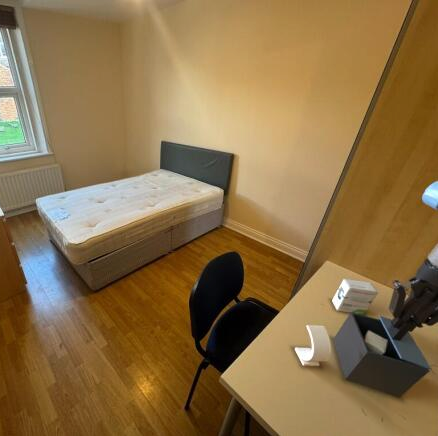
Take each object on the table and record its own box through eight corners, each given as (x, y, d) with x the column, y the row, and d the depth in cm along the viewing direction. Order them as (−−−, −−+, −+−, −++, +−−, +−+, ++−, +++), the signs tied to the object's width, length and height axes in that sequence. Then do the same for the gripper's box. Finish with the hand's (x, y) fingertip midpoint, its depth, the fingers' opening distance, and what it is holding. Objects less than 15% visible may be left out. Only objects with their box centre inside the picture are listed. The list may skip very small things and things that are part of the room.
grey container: (379, 352, 72) (402, 325, 65) (399, 398, 61) (430, 371, 55) (333, 339, 76) (350, 311, 69) (345, 379, 65) (367, 352, 59)
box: (352, 351, 72) (368, 329, 66) (370, 362, 69) (388, 339, 63) (347, 362, 69) (364, 340, 63) (366, 374, 66) (385, 352, 60)
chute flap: (402, 324, 65) (403, 323, 65) (430, 369, 55) (431, 368, 54) (378, 316, 66) (379, 315, 66) (400, 358, 56) (401, 357, 56)
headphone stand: (309, 349, 73) (323, 325, 67) (320, 369, 68) (337, 346, 62) (294, 348, 73) (307, 325, 67) (304, 369, 68) (319, 345, 62)
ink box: (357, 304, 87) (371, 282, 82) (364, 315, 83) (380, 292, 77) (331, 300, 89) (343, 277, 84) (336, 310, 85) (350, 287, 79)
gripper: (421, 271, 48) (368, 339, 60) (512, 288, 44) (435, 358, 56) (402, 250, 54) (358, 315, 66) (481, 264, 50) (418, 331, 61)
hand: (393, 335), depth 61 cm, fingers closed
